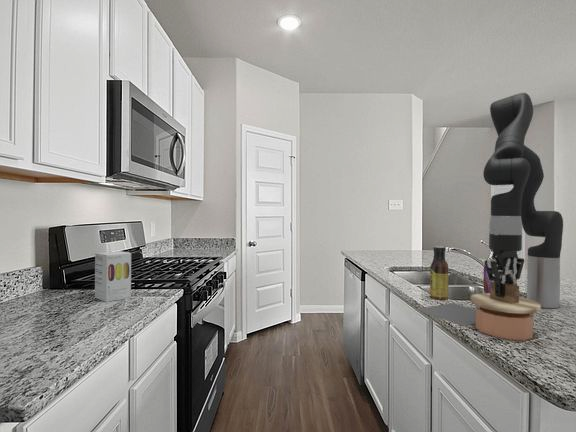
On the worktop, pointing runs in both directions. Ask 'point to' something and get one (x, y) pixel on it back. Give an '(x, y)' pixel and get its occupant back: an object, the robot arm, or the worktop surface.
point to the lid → (506, 301)
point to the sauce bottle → (439, 275)
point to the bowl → (504, 324)
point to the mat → (452, 313)
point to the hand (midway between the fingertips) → (504, 295)
